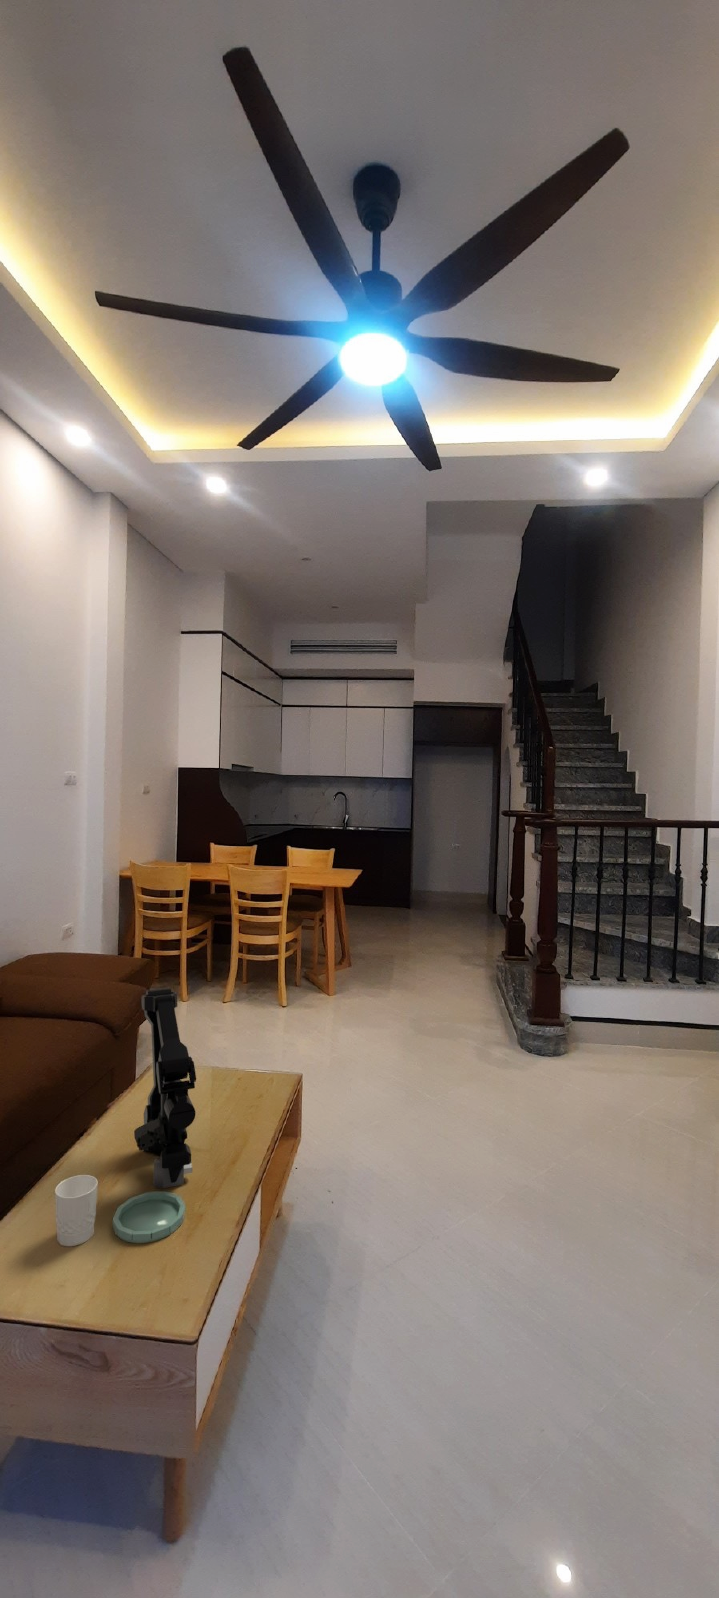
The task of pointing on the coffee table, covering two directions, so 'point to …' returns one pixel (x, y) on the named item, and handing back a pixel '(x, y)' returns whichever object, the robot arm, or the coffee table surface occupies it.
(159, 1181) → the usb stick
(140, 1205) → the dish
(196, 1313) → the coffee table surface
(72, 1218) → the white cup
